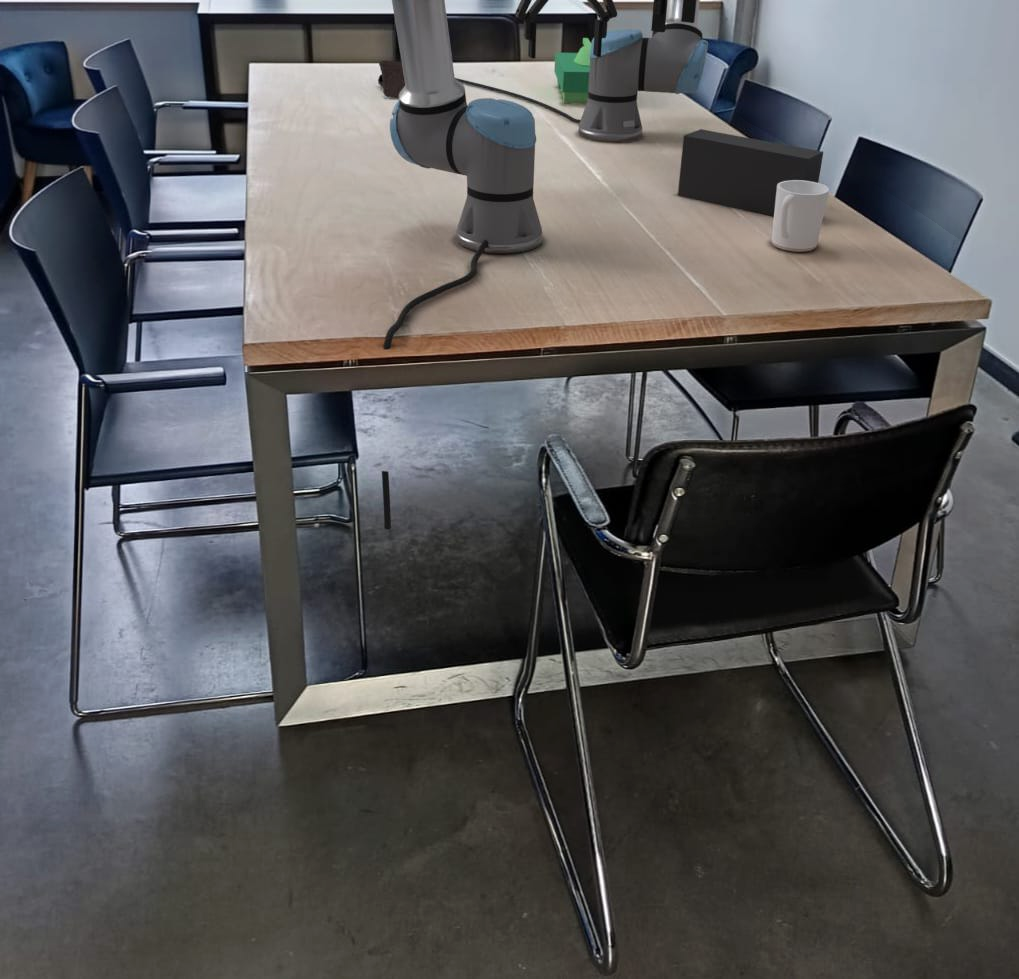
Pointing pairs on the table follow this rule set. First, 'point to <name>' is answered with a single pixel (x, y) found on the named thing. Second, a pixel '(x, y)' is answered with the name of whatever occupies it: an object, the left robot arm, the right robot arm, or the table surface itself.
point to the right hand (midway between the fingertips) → (673, 26)
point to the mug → (798, 215)
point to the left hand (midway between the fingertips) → (564, 56)
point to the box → (741, 169)
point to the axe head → (391, 78)
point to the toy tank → (574, 73)
